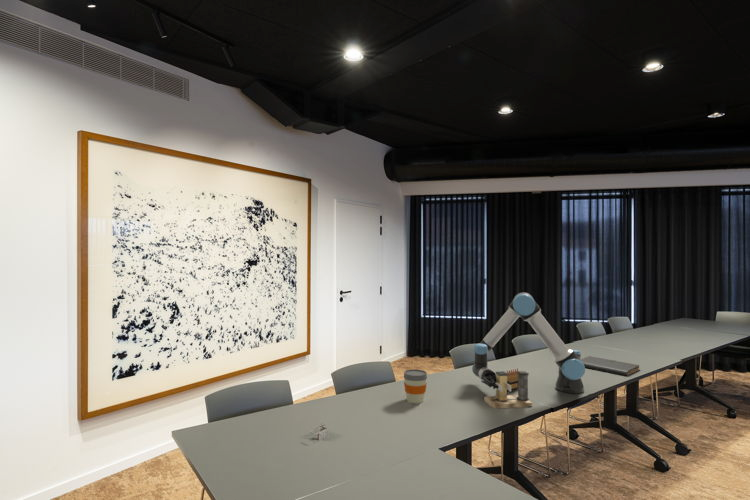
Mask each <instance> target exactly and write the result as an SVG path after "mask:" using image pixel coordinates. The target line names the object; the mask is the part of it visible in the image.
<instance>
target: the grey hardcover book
mask: <svg viewBox="0 0 750 500" xmlns="http://www.w3.org/2000/svg"><path fill="white" fill-rule="evenodd" d="M581 361H582V363H583V364H584V366H585V369H590V370H594V371H598V372H599V371H600V372H604V373H610V374H614V375H619V376H624V377H628V376H630V375H632V374H634V373H636V372H638V371H639V370H640V365H639V364H636V363H635V364H634V363H629V362H625V361H624V362H623V361H618V360H612V359H608V358H602V357H597V356H592V355H591V356H590V355H589V356H586V357H584V358H581Z"/></svg>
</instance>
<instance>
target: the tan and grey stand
mask: <svg viewBox="0 0 750 500" xmlns="http://www.w3.org/2000/svg"><path fill="white" fill-rule="evenodd" d="M516 371H517V370H516ZM517 373H518V390H517V394H513V395H508V394H507V400H506V401H499V400H498V399H497V398H496V395H492V396H491V395H490V396H484V400H483V401H485V403H487V404H488V405H489V407H491V408H493V409H508V408H509V409H510V408H511V407H513V408H527V406H532V407H533V402H532V401H530V398H529V396H528V395H529V393H528V392H529V391H528V390H529V387H528V386H529V373H530V372H527V371H526V370H518V371H517ZM511 409H512V408H511Z"/></svg>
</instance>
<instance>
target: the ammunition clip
mask: <svg viewBox="0 0 750 500" xmlns="http://www.w3.org/2000/svg"><path fill="white" fill-rule="evenodd" d="M517 371H519V369H518V368H514V369H510V370H506V373H507V374H508V376H507V380H508V381H509V382H510V386H511V391H509V390H507V393H510V392H514V391H518V390H517V389H518V373H517ZM513 390H514V391H513Z"/></svg>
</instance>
